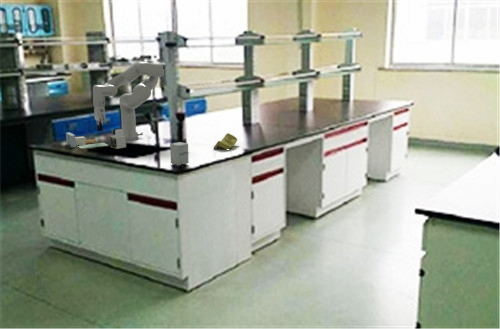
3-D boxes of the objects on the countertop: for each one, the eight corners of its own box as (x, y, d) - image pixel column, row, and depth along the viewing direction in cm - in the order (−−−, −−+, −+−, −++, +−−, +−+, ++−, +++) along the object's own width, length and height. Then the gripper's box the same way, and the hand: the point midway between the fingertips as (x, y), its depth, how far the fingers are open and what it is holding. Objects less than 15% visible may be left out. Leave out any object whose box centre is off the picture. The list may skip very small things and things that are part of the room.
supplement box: (179, 167, 300) (178, 145, 297) (170, 165, 305) (169, 143, 302) (189, 165, 305) (188, 143, 302) (180, 163, 310) (179, 141, 307)
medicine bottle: (110, 147, 351) (109, 129, 348) (120, 145, 356) (119, 127, 353) (116, 149, 346) (115, 130, 343) (126, 147, 351) (125, 129, 348)
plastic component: (230, 147, 342) (216, 139, 342) (226, 156, 344) (212, 149, 345) (239, 138, 360) (226, 131, 361) (234, 148, 363) (221, 141, 363)
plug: (93, 142, 366) (93, 135, 365) (95, 143, 363) (95, 136, 362) (73, 144, 359) (72, 137, 358) (75, 146, 355) (74, 138, 354)
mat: (103, 143, 363) (103, 142, 363) (108, 145, 356) (108, 145, 356) (76, 146, 354) (76, 145, 354) (80, 148, 346) (80, 148, 346)
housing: (70, 143, 362) (69, 132, 360) (75, 147, 352) (74, 135, 350) (66, 144, 360) (65, 132, 358) (72, 147, 351) (71, 135, 349)
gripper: (108, 104, 357) (109, 132, 361) (101, 102, 369) (101, 128, 373) (97, 105, 353) (98, 133, 357) (90, 102, 365) (91, 129, 369)
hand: (100, 130), depth 365 cm, fingers closed
